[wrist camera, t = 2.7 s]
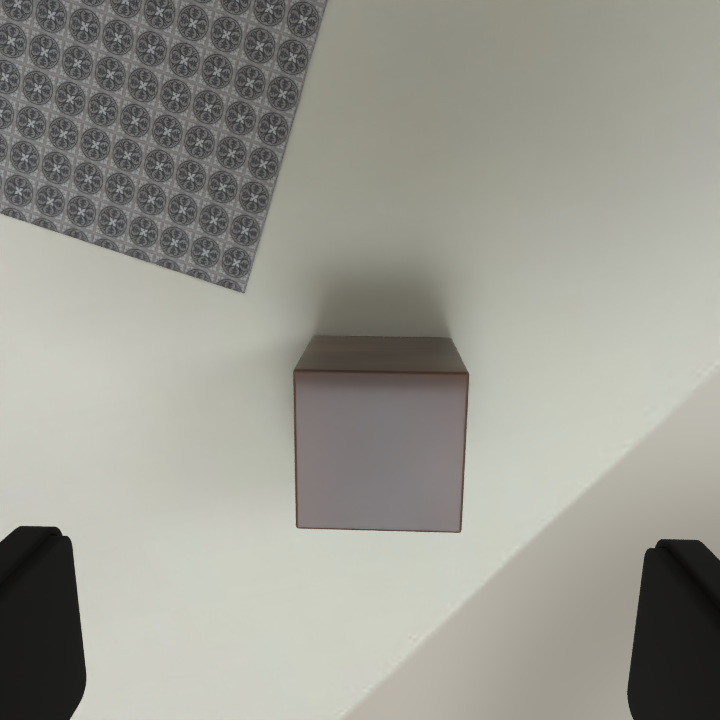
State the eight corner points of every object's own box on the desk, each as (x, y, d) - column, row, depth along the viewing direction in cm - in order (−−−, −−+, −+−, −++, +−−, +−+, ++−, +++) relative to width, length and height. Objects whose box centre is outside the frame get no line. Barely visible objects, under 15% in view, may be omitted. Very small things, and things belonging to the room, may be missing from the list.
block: (451, 337, 21) (469, 372, 16) (446, 466, 22) (461, 533, 17) (312, 335, 21) (292, 369, 16) (314, 464, 22) (295, 529, 18)
